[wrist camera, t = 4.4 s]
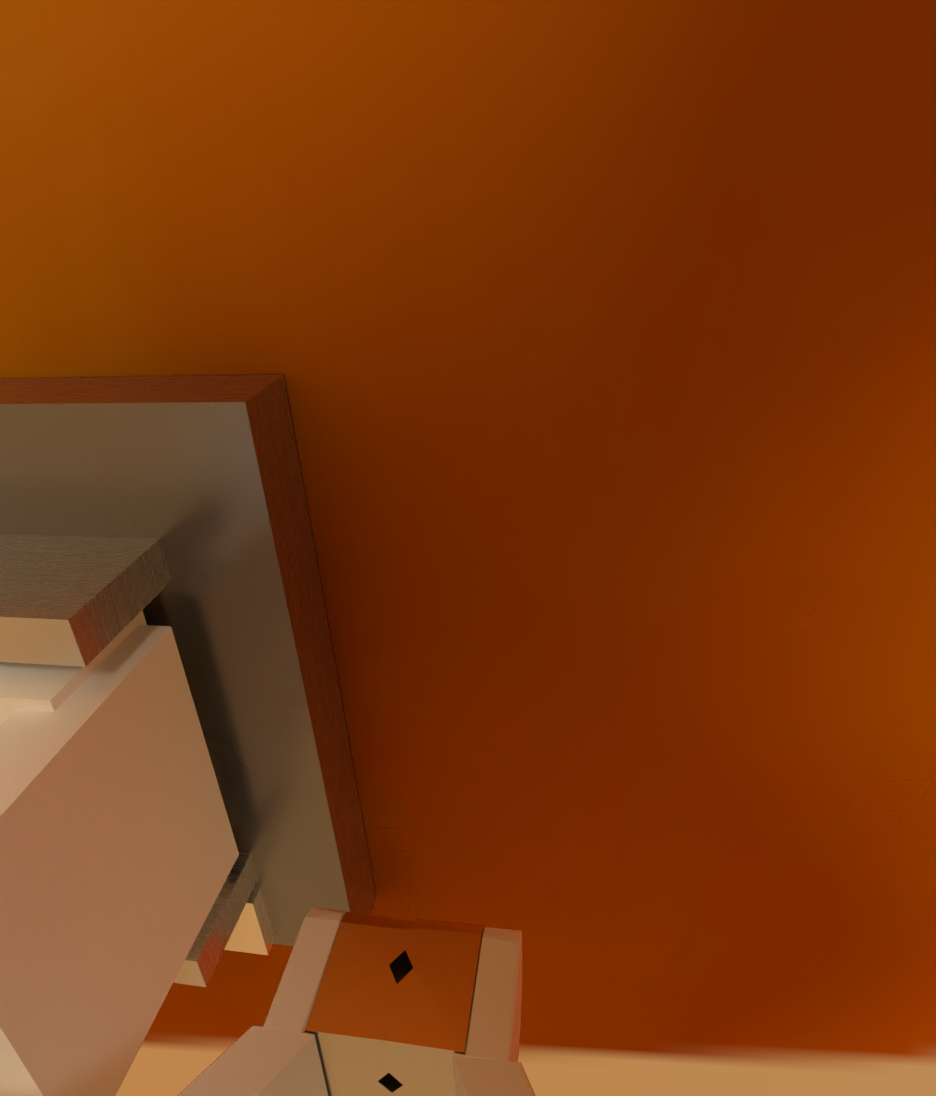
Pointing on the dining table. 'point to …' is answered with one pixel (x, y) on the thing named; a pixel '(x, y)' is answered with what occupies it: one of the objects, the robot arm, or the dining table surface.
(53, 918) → the cream corner bracket
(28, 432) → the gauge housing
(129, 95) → the dining table surface
